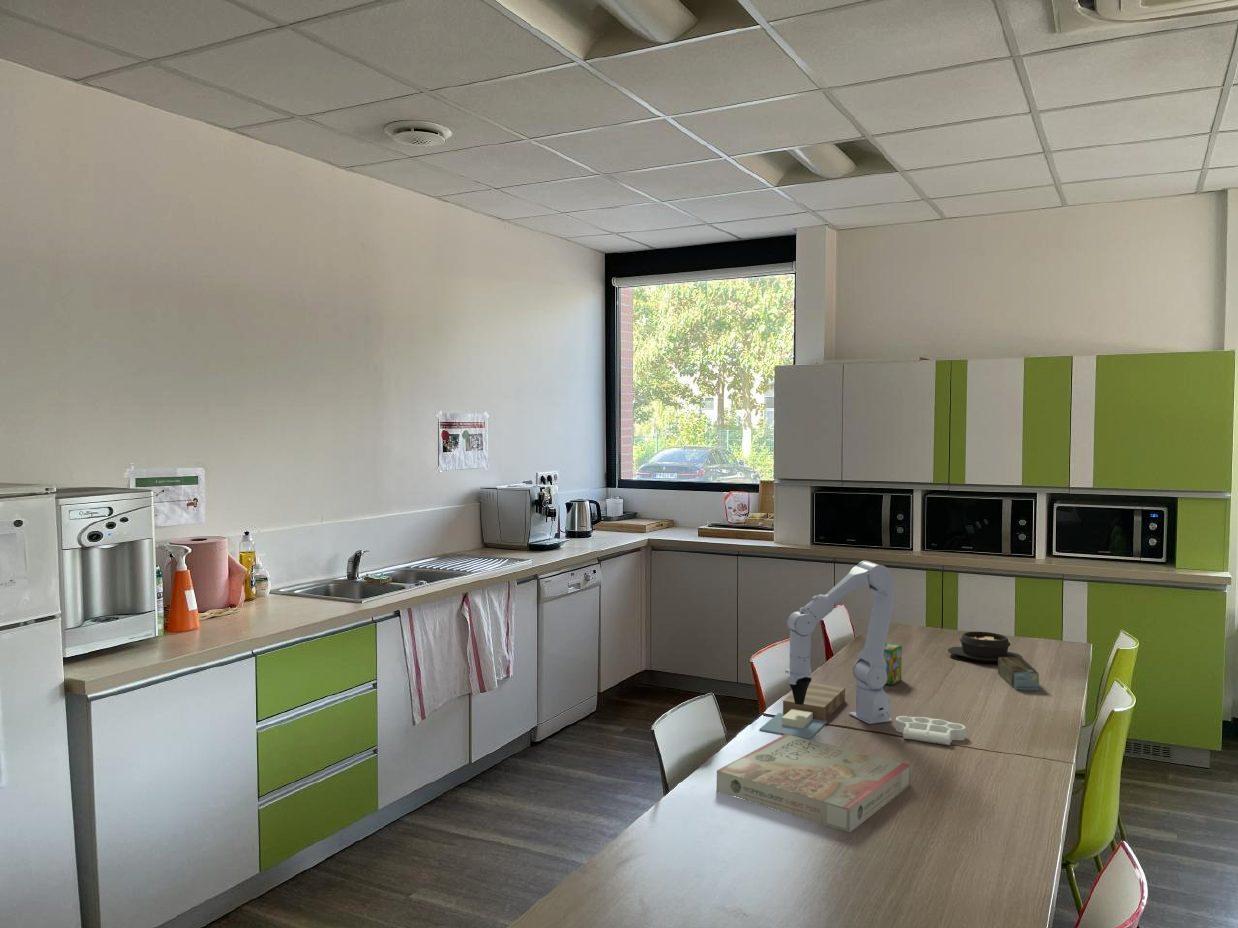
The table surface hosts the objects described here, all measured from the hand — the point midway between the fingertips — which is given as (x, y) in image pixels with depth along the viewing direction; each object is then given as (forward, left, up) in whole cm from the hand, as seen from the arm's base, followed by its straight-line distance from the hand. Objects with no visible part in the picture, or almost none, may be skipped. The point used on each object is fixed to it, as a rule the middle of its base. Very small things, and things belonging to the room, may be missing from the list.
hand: (799, 703), depth 252 cm
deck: (+9, -11, -5) cm, 16 cm away
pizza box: (-42, +22, -6) cm, 48 cm away
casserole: (+38, -101, -5) cm, 108 cm away
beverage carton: (+10, -89, -6) cm, 90 cm away
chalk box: (+27, -49, -5) cm, 56 cm away
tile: (-1, +1, -5) cm, 5 cm away
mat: (-3, +4, -5) cm, 7 cm away
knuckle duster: (-21, -27, -6) cm, 35 cm away
